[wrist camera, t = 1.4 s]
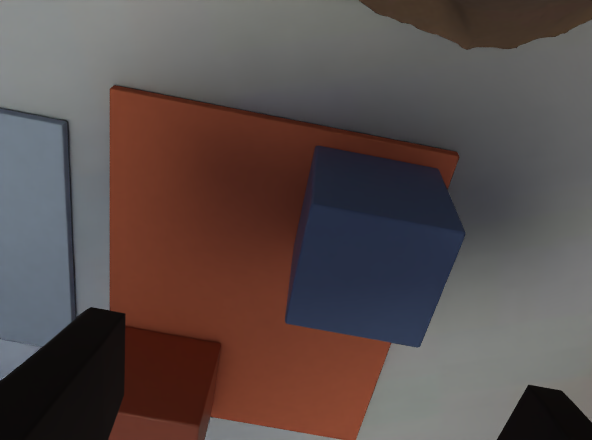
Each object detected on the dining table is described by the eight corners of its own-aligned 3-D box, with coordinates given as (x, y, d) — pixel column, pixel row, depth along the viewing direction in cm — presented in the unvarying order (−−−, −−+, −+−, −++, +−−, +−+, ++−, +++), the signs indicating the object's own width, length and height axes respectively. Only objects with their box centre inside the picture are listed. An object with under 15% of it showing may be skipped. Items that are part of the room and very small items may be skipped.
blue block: (404, 269, 19) (420, 349, 15) (293, 248, 18) (283, 324, 15) (439, 167, 17) (467, 233, 13) (315, 143, 16) (310, 203, 13)
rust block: (212, 409, 23) (190, 497, 19) (120, 393, 23) (82, 479, 19) (221, 342, 21) (199, 426, 17) (121, 324, 21) (79, 405, 17)
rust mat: (354, 434, 24) (355, 442, 23) (112, 392, 23) (109, 399, 23) (457, 151, 17) (460, 156, 16) (113, 84, 16) (109, 88, 16)
